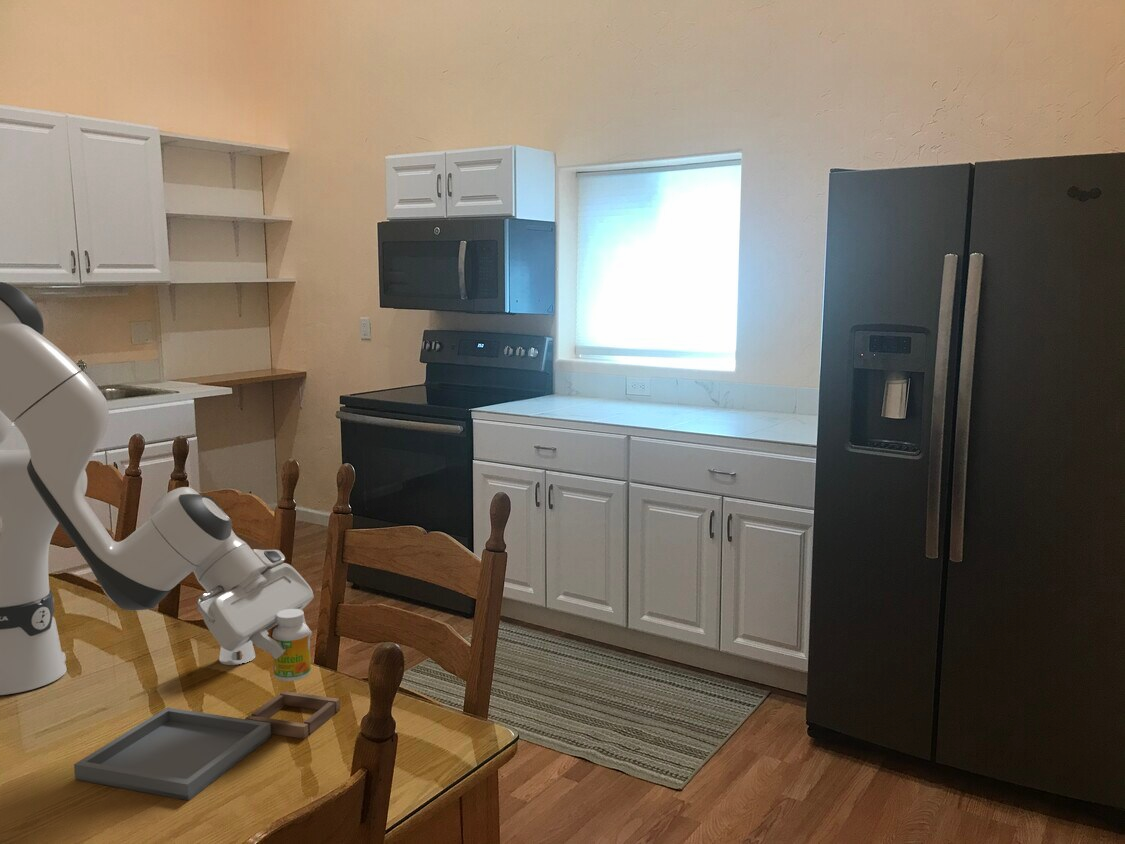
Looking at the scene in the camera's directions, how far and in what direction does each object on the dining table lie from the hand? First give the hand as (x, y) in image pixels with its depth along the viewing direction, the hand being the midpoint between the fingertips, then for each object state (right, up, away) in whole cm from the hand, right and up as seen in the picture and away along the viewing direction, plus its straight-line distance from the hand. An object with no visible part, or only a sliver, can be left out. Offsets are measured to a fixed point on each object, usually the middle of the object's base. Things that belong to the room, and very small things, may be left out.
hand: (295, 646), depth 141 cm
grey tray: (-14, -13, -10) cm, 21 cm away
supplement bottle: (-1, -5, +1) cm, 5 cm away
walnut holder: (-1, -11, +1) cm, 12 cm away
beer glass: (-17, -8, +25) cm, 32 cm away
